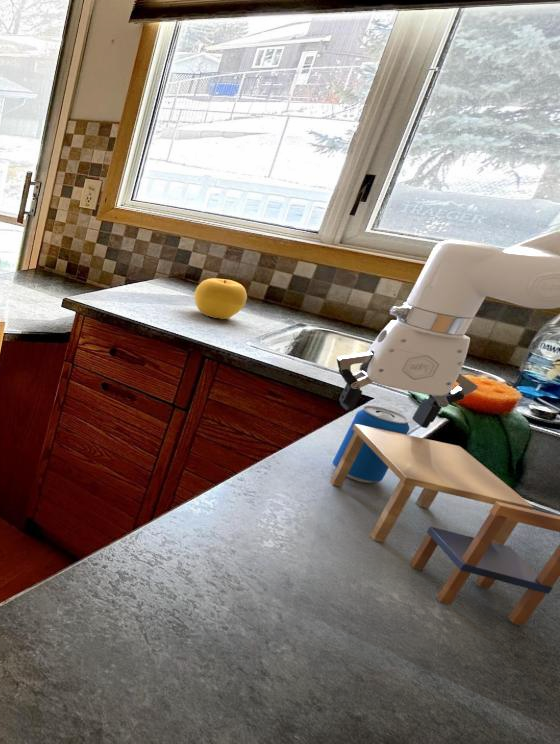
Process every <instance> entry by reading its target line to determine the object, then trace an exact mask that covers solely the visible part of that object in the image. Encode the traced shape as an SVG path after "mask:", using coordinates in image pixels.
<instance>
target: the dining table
mask: <svg viewBox="0 0 560 744" xmlns="http://www.w3.org/2000/svg"><path fill="white" fill-rule="evenodd" d="M352 429H353V430H354V431H355V432H354V434H353V436H352V438H351V440H350V442H349V444H348V446H347V448H346V450H345V452H344V454H343V456H342V458H341V460H340V462H339V464H338V466H337V468H336V467H335V470H334V472H333V474H332V476H331V478H330V480H329V483H330V484H331V485H332V486H335V487H340V488H341V487H343V484H344V482H345V481H346V479H347V477H346V476H347V475H348V473H349V471H350V469H351V467H352V465H353V463H354V461H355V459H356V457H357V455H358V453H359V451H360V449H361V447H362V445H363V443H364V442H365V443H366V444H367V445H368V446H369V447H370V448H371V449H372V450H373V451H374V452H375V453H376V455H377V456H378V457H379V458H380V459H381V460H382V461H383V462H384V463H385V464H386V465H387V466H388V467H389V468H388V469H389V470H390V471H391V472H392V473H393V474H394V476H396V477H397V479H399V481H398V483H397V485H396V487H395V489H394V490H393V491H392V494H391V496H390V498H389V500H388V501H387V504H386V505H385V507H384V509H383V511H382V513H381V514H380V516H379V518H378V519H377V522H376V523H375V525H374V527H373V528H372V530H371V532H370V534H369V536H370V537H371V539H372V540H373V541H376V542H380V543H385V541H386V539H387V538H388V536H389V534H390V532H391V531H392V529H393V527H394V526H395V523H396V522H397V520H398V518H399V517H400V514H401V513H402V511H403V509H404V508H405V506H406V504H407V503H408V501H409V499H410V497H411V496H412V493H413V491H414V490H415V488H416V487H417V488H422V490H421V492H420V493H419V495H418V497H417V499H416V501H415V503H416V504H417V506H418V507H421V508H425V509H430V507H431V506H432V504H433V502H434V500H435V499H436V497H437V495H438V493H444V494H446V495H447V494H448V495H451V496H455V497H460V498H463V499H469V500H472V501H477V502H480V503H481V502H482V503H485V504H489V505H492V506H493V505H494V504H495V502H496V501H497V502H502V503H506V504H510V505H514V506H519V507H523V508H527V509H531V510H534V506H533V505H532V504H531V503H530V502H529V501H527V500H526V499H525V498H523V497H522V496H521V495H520V494H519V493H517V491H515V490H514V489H513V488H511V487H510V486H509V485H508V484H506V482H504V481H503V480H501V478H500V477H498V476H497V475H495V474H494V473H493V472H492V471H491V470H490V469H488V468H487V467H486V466H484V465H483V464H482V463H481V462H480V461H478V460H477V459H476V458H475V457H474V456H473V455H471V454H470V453H469V452H468V451H467V450H466V449H464V448H463V447H461V446H460V445H456V444H451V443H447V442H441V441H437V440H432V439H429V438H428V439H427V438H423V437H419V436H413V435H410V434H407V435H405V434H400V433H396V432H391V431H386V430H382V429H377V428H372V427H368V426H363V425H358V424H354V426H353V428H352ZM518 523H519V522H515V521H511V520H507V519H506V521H505V522H504V524H503V525H502V527H501V528H500V530H499V531H498V533H497V535H496V536H495V538H494V539H493V541H492V542H494V543H498V544H501V545H505V544H506V542H507V540H508V539H509V537H510V536H511V534H512V533H513V531H514V529H515V528H516V526H517V525H518Z"/></svg>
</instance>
